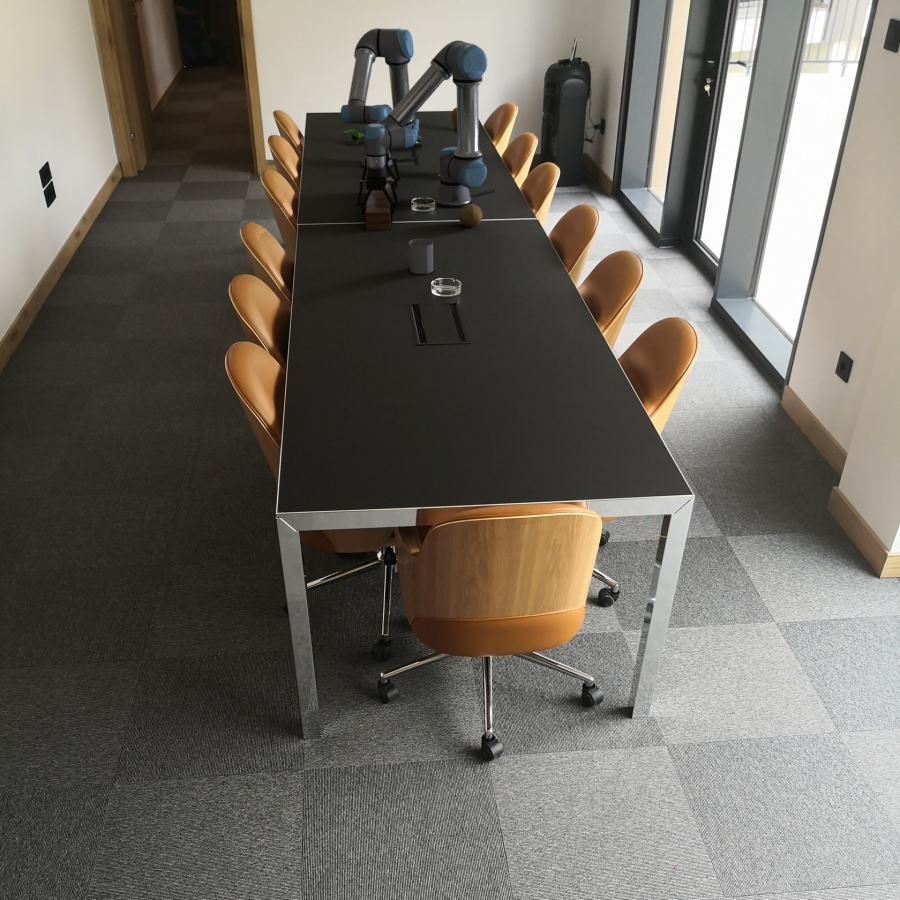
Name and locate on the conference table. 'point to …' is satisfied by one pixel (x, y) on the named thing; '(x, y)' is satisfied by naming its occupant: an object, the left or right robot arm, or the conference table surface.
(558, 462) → the conference table surface
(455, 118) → the yellow piece
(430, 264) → the cup
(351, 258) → the conference table surface
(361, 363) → the conference table surface
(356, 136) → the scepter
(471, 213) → the potato
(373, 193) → the wooden beam
